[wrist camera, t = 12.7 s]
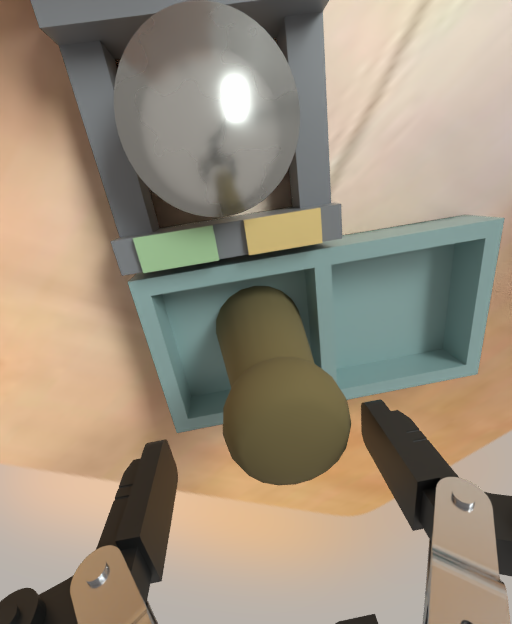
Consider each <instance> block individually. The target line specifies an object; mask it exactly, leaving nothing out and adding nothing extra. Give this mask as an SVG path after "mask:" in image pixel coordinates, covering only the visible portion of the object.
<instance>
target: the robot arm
mask: <svg viewBox="0 0 512 624" xmlns="http://www.w3.org/2000/svg"><path fill="white" fill-rule="evenodd" d="M361 425H362V436H363V440H364V443H365V445H366V447H367V449H368V451H369V453H370V455H371V456H372V458H373V460H374V462H375V463H376V465H377V467H378V469H379V471H380V472H381V474H382V476H383V478H384V480H385V481H386V483H387V485H388V487H389V489H390V490H391V492H392V494H393V496H394V498H395V499H396V501H397V503H398V505H399V507H400V508H401V510H402V512H403V514H404V516H405V517H406V519H407V521H408V523H409V525H410V526H411V528H412V530H413V531H414V530H419V529H423V528H424V530H425V532H426V533H427V535H428V537H429V538H430V539H429V551H428V564H427V577H426V591H425V604H424V615H423V624H510V615H509V606H508V597H507V591H506V588H505V585H504V583H503V582H501V581H500V576H499V574H502V575H508V576H512V496H506V495H497V494H491V493H487V492H483V491H482V490H481V489H480V488H479V487H478V486H476V485H475V484H473V483H472V482H470V481H467V480H465V479H462V478H459V477H458V475H457V474H456V473H455V472H454V471H453V470H452V468H451V467H450V466H449V465H448V464H447V462H446V461H445V460H444V459H443V457H442V456H441V455H440V454H439V453H438V451H437V450H436V449H435V448H434V447H433V445H432V444H431V443H430V442H429V440H427V439H426V437H425V436H424V434H423V433H422V432H421V431H419V428H418V427H417V426H416V425H415V423H414V422H413V421H412V420H411V419H410V418H409V417H407V416H406V415H404V414H403V413H401V412H400V411H398V410H396V411H390V410H389V408H388V407H387V406H386V405H385V403H384V402H383V401H382V400H375V401H370V402H364V403H362V405H361ZM177 482H178V472H177V467H176V463H175V461H174V458H173V455H172V452H171V449H170V447H169V444H168V442H167V440H161V441H156V442H150V443H147V444H146V445H145V447H144V450H143V453H142V456H141V459H136V460H133V461H132V463H131V464H130V465H129V467H128V468H127V469H126V471H125V472H124V474H123V477H122V480H121V482H120V485H119V489H118V491H117V493H116V496H115V501H114V502H113V504H112V507H111V510H110V513H109V516H108V518H107V521H106V524H105V527H104V530H103V532H102V535H101V538H100V541H99V543H98V546H97V548H96V550H95V551H94V552H92V553H91V554H90V555H89V556H87V557H86V558H85V559H84V561H83V562H82V563H81V564H80V566H79V567H78V569H77V570H76V572H75V574H74V575H73V576H72V577H70V578H69V579H67V580H65V581H63V582H62V583H60V584H58V585H56V586H54V587H52V588H51V589H49V590H47V591H45V592H43V593H41V594H40V595H38V594H37V593H36V591H34V590H33V589H31V588H24V589H20V590H17V591H15V592H13V593H12V594H10V595H8V596H7V597H6V598H4V599H3V600H2V601H1V602H0V624H158V622H157V620H156V618H155V616H154V613H153V611H152V609H151V607H150V605H149V603H148V601H147V597H148V592H149V586H150V583H155V582H160V581H162V575H163V568H164V562H165V556H166V550H167V544H168V538H169V532H170V526H171V520H172V513H173V507H174V501H175V495H176V489H177ZM336 624H378V622H377V619H376V616H375V614H372V615H367V616H363V617H358V618H353V619H349V620H344V621H339V622H337V623H336Z"/></svg>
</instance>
